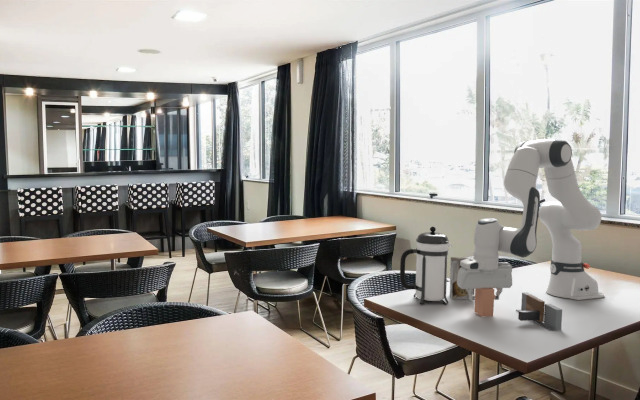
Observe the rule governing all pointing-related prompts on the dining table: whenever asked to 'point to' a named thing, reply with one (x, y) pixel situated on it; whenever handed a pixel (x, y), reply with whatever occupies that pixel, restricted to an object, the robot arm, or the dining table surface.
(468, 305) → the dining table surface
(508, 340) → the dining table surface
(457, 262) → the cookie box
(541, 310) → the sliding door
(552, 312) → the door wall
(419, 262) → the coffee press
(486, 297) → the doorstop block
